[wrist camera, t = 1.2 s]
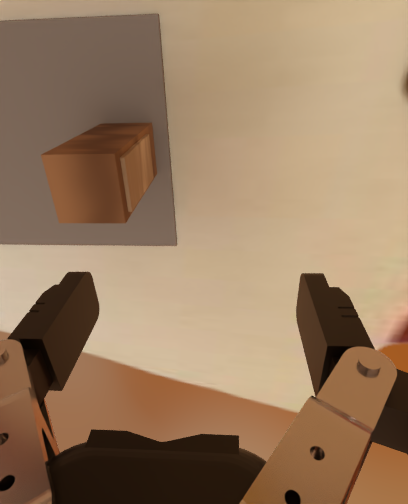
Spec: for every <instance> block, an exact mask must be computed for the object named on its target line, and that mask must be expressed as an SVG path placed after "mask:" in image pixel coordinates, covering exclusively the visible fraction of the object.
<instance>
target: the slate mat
mask: <svg viewBox="0 0 408 504" xmlns="http://www.w3.org/2000/svg"><path fill="white" fill-rule="evenodd" d="M105 123H152V128H153V137H154V147H155V157H156V167H157V175H156V176H155V178H154V180H153V181H152V183H151V184H150V186H149V187H148V189H147V191H146V192H145V194H144V195H143V197H142V198H141V200H140V202H139V203H138V205H137V206H136V208H135V209H134V211H133V213H132V214H131V216H130V217H129V219H128V220H127V222H126V224H125V223H59V221H58V217H57V213H56V210H55V206H54V202H53V198H52V195H51V191H50V187H49V184H48V180H47V176H46V172H45V169H44V165H43V161H42V157H41V154H43V153H45V152H47V151H49V150H51V149H53V148H55V147H57V146H59V145H61V144H63V143H65V142H66V141H68V140H70V139H72V138H74V137H76V136H78V135H80V134H82V133H84V132H86V131H88V130H90V129H92V128H94V127H96V126H97V125H99V124H105ZM0 244H27V245H135V246H177V237H176V224H175V211H174V199H173V186H172V173H171V161H170V148H169V135H168V123H167V110H166V97H165V84H164V72H163V59H162V46H161V34H160V21H159V14H145V15H123V16H100V17H77V18H54V19H32V20H9V21H0Z"/></svg>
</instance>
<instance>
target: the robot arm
mask: <svg viewBox="0 0 408 504" xmlns="http://www.w3.org/2000/svg"><path fill="white" fill-rule="evenodd" d="M29 311H30V312H28V313H27V314H26V315H25V317H24V318H23V319H22V321H21V322H20V323H19V324H18V326H17V327H16V328H15V330H14V331H13V332H12V333H11V335H10V336H9V337H8V339H7V340H1V341H0V504H347V502H348V499H349V497H350V494H351V492H352V489H353V487H354V485H355V482H356V480H357V477H358V475H359V473H360V471H361V468H362V466H363V463H364V461H365V459H366V456H367V454H368V451H369V449H370V447H371V444H372V442H375V443H378V444H381V445H384V446H387V447H389V448H392V449H395V450H398V451H401V452H404V453H407V454H408V373H406V372H403V371H401V370H398V369H396V367H395V366H394V364H393V362H392V361H391V360H390V359H389V358H388V357H387V356H386V355H384V354H383V353H381V352H379V351H377V350H375V349H374V347H373V345H372V342H371V340H370V338H369V336H368V334H367V332H366V330H365V328H364V326H363V324H362V322H361V320H360V318H358V314H357V312H356V310H355V309H354V306H353V304H352V302H351V300H350V297H349V296H348V295H347V294H346V293H344V292H343V291H342V290H341V289H340V288H339V287H329V285H328V283H327V281H326V278H325V276H324V274H323V273H302V274H301V277H300V283H299V291H298V299H297V307H296V317H297V324H298V328H299V332H300V336H301V340H302V344H303V348H304V352H305V356H306V360H307V364H308V368H309V372H310V376H311V380H312V384H313V388H314V392H315V396H316V397H314V396H311V397H309V398H308V400H307V401H306V403H305V404H304V406H303V407H302V409H301V410H300V412H299V413H298V415H297V416H296V418H295V419H294V421H293V422H292V424H291V426H290V427H289V429H288V430H287V432H286V433H285V435H284V436H283V438H282V439H281V441H280V442H279V444H278V446H277V447H276V448H275V450H274V452H273V453H272V455H271V456H270V458H269V459H268V461H267V462H266V461H265V460H264V459H262V458H260V457H259V456H257V455H256V454H253V453H251V452H249V451H247V450H244V449H241V448H239V436H236V435H212V434H200V435H195V436H190V437H186V438H181V439H176V440H172V441H167V442H159V441H156V440H153V439H150V438H147V437H143V436H140V435H137V434H134V433H131V432H128V431H115V430H114V431H113V430H91V432H90V435H89V438H88V440H87V442H85V443H82V444H79V445H76V446H73V447H71V448H69V449H67V450H64V451H63V452H61V453H60V451H59V448H58V445H57V441H56V437H55V433H54V430H53V426H52V422H51V419H50V415H49V411H48V407H47V403H46V401H45V399H44V398H45V396H46V394H47V392H48V390H54V391H62V390H63V388H64V386H65V384H66V382H67V380H68V378H69V376H70V374H71V371H72V370H73V368H74V366H75V363H76V362H77V360H78V357H79V356H80V353H81V352H82V350H83V348H84V346H85V344H86V342H87V340H88V338H89V336H90V334H91V332H92V329H93V327H94V325H95V323H96V321H97V319H98V316H99V302H98V298H97V294H96V290H95V286H94V282H93V278H92V275H91V273H90V272H68V273H67V274H66V275H65V277H64V278H63V279H62V281H61V282H60V284H59V285H54V286H52V287H51V288H49V289H48V290H47V291H45V292H44V293H43V294H42V295H41V296H40V298H39V299H38V300H37V301H36V304H34V305H33V306H32V308H31V309H30V310H29Z"/></svg>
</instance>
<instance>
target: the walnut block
mask: <svg viewBox="0 0 408 504" xmlns="http://www.w3.org/2000/svg"><path fill="white" fill-rule="evenodd" d="M41 157H42V161H43V165H44V169H45V172H46V176H47V180H48V184H49V187H50V191H51V195H52V198H53V202H54V206H55V210H56V213H57V217H58V221H59V223H125V224H126V222H127V220H128V219H129V217H130V216H131V214H132V213H133V211H134V209H135V208H136V206H137V205H138V203H139V202H140V200H141V198H142V197H143V195H144V194H145V192H146V191H147V189H148V187H149V186H150V184H151V183H152V181H153V180H154V178H155V176H156V175H157V167H156V157H155V147H154V137H153V128H152V123H105V124H99V125H97V126H96V127H94V128H92V129H90V130H88V131H86V132H84V133H82V134H80V135H78V136H76V137H74V138H72V139H70V140H68V141H66V142H65V143H63V144H61V145H59V146H57V147H55V148H53V149H51V150H49V151H47V152H45V153H43V154H41Z"/></svg>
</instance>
